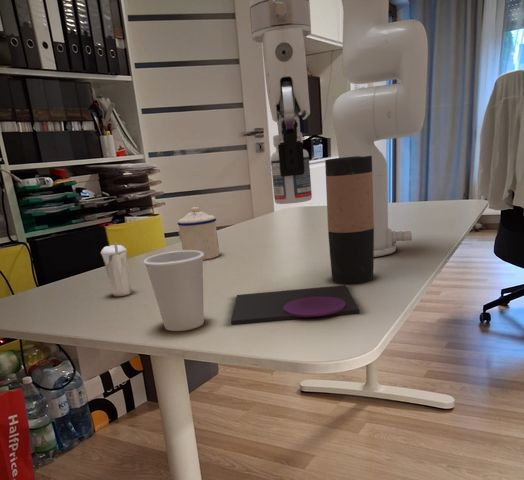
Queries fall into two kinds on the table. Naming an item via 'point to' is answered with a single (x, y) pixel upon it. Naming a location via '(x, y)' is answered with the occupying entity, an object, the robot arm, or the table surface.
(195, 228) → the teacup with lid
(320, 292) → the placemat
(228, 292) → the table surface
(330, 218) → the travel mug
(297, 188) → the pill bottle
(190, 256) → the dixie cup
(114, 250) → the milkshake
